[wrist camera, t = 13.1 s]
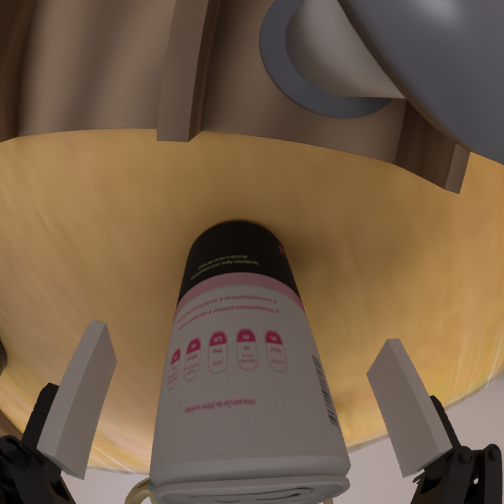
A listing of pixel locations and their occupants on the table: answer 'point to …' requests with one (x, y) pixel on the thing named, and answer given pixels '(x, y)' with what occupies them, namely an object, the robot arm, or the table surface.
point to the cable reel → (394, 61)
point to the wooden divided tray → (183, 81)
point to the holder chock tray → (8, 428)
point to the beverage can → (244, 384)
